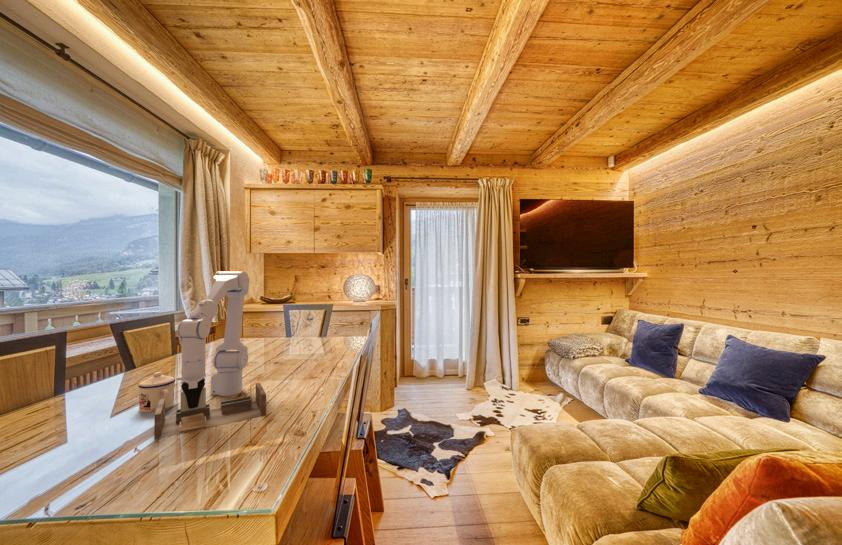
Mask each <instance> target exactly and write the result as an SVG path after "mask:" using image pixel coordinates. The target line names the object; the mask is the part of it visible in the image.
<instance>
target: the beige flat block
mask: <svg viewBox="0 0 842 545" xmlns="http://www.w3.org/2000/svg"><path fill="white" fill-rule="evenodd" d="M206 392H207V390H206V386H204V387H203V389H202V391H201V395H200V399H199V404H198V407H196V408H191V409H189V407H188V404H187V399H186V395H185V393H184V391H183V390H180V409H181V412H184V411H189V410H195V409H200V408H205V407H206V404H207V403H206V399H207V398H206V397H207V394H206Z"/></svg>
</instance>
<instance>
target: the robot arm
mask: <svg viewBox="0 0 842 545" xmlns="http://www.w3.org/2000/svg"><path fill="white" fill-rule="evenodd" d="M249 288H250V277H249V275H248V273H247V271H244V270H241V271H222V270H218V271H216V272H215V273H214V275H213V277H212V288H211V289H210V291H209V293H208V295H207V296H206V298H205V299H202V300H201V301H199V302H198V304H197V305H196V306H195V308H194V309H193V311H191V314H190V315H189V317H188V318H186V319H183V320H181V321H180V322H179V324H178V326H177V330H176V335H177V337H178V339H179V342H178V343H179V344H180V346H181V375H178V376H176V381H182V382H181V387H180V388H181V391H184V393H185V395H186V399H187V404H188V407H189V409H191V408H196V407H198V404H199V399H200V395H201V391H202V389H203V387H205V385H206V379H205V378H206V376H207V373H206V338H207V337H208V336H209V334H210V333H211V326H212V321H213V319H214V318H215V316H216V314H217V313H218V311H219V306H218V304H219V303H220V302H221V301H222V299H223V298H224V296H226V297H227V298H228V300H227V311H226V319H225V327H224V337H223V338H224V339H223V342H222V343H221V344H220V345H219V346H216V349H215V352H214V355H213V358H212V366H213V367H214V369H215V371H214V372H213V373H212V374H211V377H210V395H214V396H221V397H230V396H235V395H239V394H240V393H242V392H243V369H245V367H247V364H248V362H249V355H248V353H249V352H248V347H247V346H246V344H244V343H242V342H241V333H242V327H243V326H242V325H243V324H242V323H243V313H244V305H245V304H244V303H245V296H247V295H248V294H249Z"/></svg>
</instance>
